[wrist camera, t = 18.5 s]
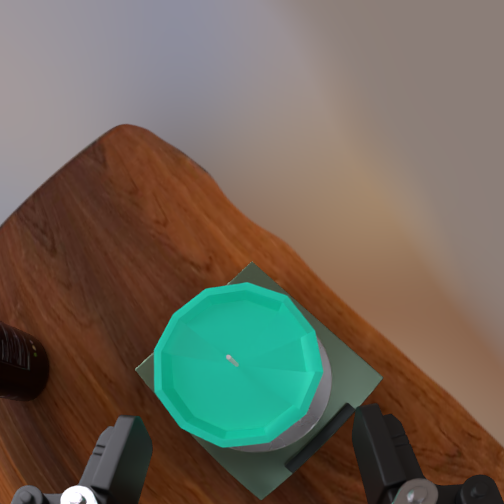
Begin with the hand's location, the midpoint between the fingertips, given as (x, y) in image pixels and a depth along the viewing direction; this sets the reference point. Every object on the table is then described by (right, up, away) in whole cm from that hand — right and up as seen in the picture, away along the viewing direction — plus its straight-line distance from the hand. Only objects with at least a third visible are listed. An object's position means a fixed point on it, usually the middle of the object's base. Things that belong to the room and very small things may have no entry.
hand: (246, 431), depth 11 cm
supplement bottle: (-21, -5, +14) cm, 26 cm away
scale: (+1, -3, +12) cm, 13 cm away
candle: (0, -2, +10) cm, 10 cm away
